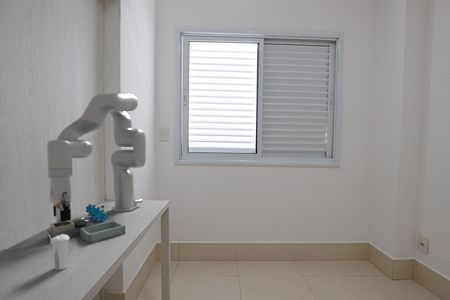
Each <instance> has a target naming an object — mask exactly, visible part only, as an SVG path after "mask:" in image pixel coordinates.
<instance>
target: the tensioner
mask: <svg viewBox="0 0 450 300" xmlns="http://www.w3.org/2000/svg"><path fill="white" fill-rule="evenodd" d="M93 225H96V224H95V223H93V222H91V220H90V217H79V218H76V219H74V220H69V221H68V224H67V225H62V226H58V227H57V223H56V222H53V223H50V224H49V226H50V227H49V228H48V229H47V230H46V231H47V233H46V234H47V236H46V237H47V238H48V239H49V241H51V239H50V237H49V235H48V233H49V234H50V236H51V238H54V237H56V236H59V235H61V234H64V235H68V236H69V238H70V239H74V238H78V237H80V228H84V227H88V226H93Z"/></svg>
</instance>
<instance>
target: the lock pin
mask: <svg viewBox="0 0 450 300" xmlns="http://www.w3.org/2000/svg"><path fill="white" fill-rule="evenodd" d="M55 207H56V216H55V217H56V218H55V220H56V222H55V223H57V227H58V226H62V225H67V224H68V221H64V222H61V221H60V211H61V207H60V204H58V205H55Z"/></svg>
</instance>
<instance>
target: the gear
mask: <svg viewBox="0 0 450 300" xmlns="http://www.w3.org/2000/svg"><path fill="white" fill-rule="evenodd" d="M85 209H86V210H85V212H86V213H87V216H88V217H89V218H90V221H91V220H93V221H94V220H95V219H96V222H98V223H100V222H101V223H104V221H105V220H106V219H107V217H106V216H107V214H106V213H105V209H104V208H103V209H101V207H100V206H97V205H95V204H93V205H92V204H90V203H89V204H88V205H87V206H86V207H85Z"/></svg>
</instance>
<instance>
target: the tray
mask: <svg viewBox="0 0 450 300" xmlns="http://www.w3.org/2000/svg"><path fill="white" fill-rule="evenodd" d="M125 234H126V225H125V224H123V223H121V222H119V221H116V220H115V219H114V220H110V221H106V222H101V223H97V224H95V225H93V226H88V227H84V228H80V236H79V237H80V238H81V239H83V241H85V242H86V243H88V244H93V243H95V242H99V241H104V240H107V239H110V238H114V237H117V236H120V235H125Z"/></svg>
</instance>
